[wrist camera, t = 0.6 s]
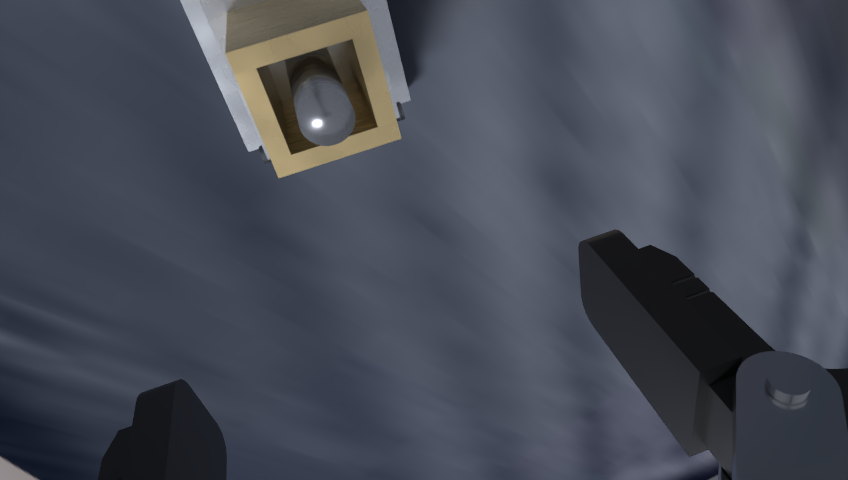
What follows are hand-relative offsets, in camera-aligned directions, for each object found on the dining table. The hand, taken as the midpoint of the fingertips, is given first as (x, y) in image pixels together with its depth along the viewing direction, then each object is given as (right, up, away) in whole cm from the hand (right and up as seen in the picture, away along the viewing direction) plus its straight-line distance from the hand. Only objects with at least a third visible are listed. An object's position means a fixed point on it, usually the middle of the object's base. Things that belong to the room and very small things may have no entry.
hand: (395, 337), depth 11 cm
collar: (-5, +11, +15) cm, 19 cm away
